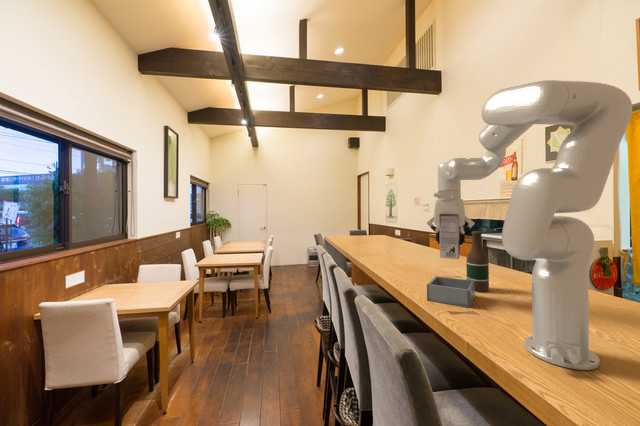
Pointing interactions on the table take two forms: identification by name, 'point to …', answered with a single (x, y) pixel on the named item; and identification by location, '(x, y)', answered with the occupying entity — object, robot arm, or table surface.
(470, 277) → the beer bottle
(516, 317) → the table surface
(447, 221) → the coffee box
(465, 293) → the bin
